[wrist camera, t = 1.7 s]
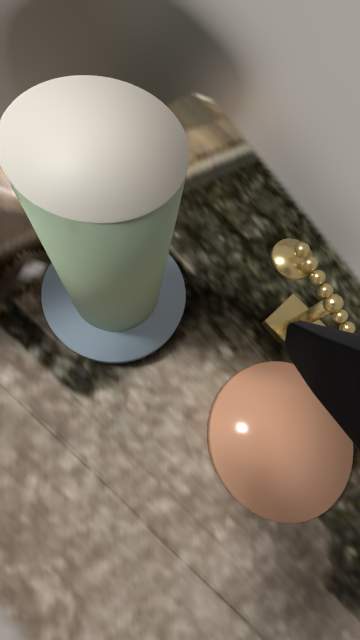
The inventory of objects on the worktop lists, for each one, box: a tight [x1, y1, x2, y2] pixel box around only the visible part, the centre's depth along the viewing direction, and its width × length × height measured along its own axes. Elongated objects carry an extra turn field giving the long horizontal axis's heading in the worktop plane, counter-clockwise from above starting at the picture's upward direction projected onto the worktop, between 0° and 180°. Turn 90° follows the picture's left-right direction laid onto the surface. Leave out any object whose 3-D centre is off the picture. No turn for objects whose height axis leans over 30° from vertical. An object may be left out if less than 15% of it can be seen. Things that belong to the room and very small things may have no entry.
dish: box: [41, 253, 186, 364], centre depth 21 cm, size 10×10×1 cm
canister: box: [0, 75, 189, 332], centre depth 15 cm, size 6×6×12 cm
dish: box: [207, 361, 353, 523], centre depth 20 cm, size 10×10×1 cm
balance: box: [261, 239, 355, 349], centre depth 20 cm, size 4×10×7 cm, turn 43°
